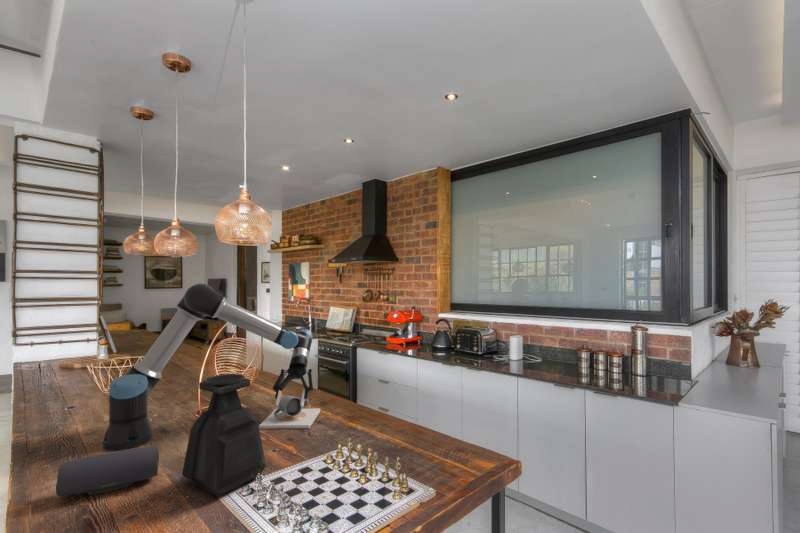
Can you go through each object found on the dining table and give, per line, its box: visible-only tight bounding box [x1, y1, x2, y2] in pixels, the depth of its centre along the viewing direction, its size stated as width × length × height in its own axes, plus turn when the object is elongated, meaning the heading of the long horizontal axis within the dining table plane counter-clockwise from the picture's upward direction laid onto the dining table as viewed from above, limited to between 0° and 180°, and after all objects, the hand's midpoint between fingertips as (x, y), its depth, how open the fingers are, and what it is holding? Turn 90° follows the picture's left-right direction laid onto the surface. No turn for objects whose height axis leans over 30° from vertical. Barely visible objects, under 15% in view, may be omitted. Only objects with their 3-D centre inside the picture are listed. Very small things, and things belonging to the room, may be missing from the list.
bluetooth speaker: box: [55, 445, 160, 497], centre depth 112 cm, size 23×9×10 cm, turn 118°
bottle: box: [182, 373, 267, 497], centre depth 116 cm, size 18×16×30 cm
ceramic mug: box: [274, 394, 303, 418], centre depth 164 cm, size 11×8×8 cm
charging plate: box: [258, 398, 321, 430], centre depth 171 cm, size 32×20×2 cm, turn 179°
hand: (289, 406), depth 163 cm, fingers closed on ceramic mug, 10 cm apart
